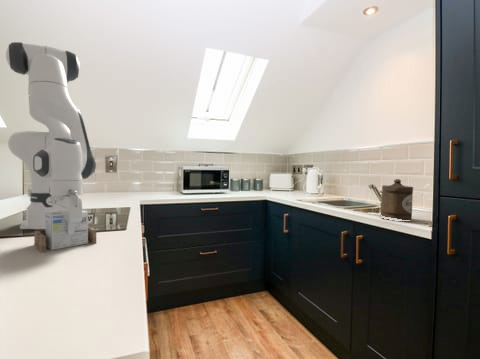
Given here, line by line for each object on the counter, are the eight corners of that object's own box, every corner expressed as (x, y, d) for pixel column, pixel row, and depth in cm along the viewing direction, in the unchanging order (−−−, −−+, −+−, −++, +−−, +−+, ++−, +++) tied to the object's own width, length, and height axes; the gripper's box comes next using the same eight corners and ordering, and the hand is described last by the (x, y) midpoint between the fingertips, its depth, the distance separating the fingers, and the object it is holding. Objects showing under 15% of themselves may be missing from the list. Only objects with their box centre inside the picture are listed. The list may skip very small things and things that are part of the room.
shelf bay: (34, 244, 88) (34, 230, 88) (86, 237, 99) (85, 224, 99) (41, 252, 81) (41, 237, 81) (96, 243, 92) (96, 229, 92)
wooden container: (411, 223, 141) (413, 180, 141) (379, 219, 149) (380, 178, 148) (411, 219, 154) (413, 179, 153) (381, 216, 162) (383, 178, 161)
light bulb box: (81, 240, 95) (81, 208, 95) (89, 243, 91) (89, 211, 91) (44, 246, 87) (44, 212, 87) (51, 250, 83) (51, 214, 83)
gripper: (88, 191, 84) (88, 236, 84) (69, 187, 98) (69, 225, 98) (64, 191, 79) (64, 240, 80) (47, 187, 93) (47, 228, 94)
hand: (66, 232), depth 89 cm, fingers closed on light bulb box, 7 cm apart
